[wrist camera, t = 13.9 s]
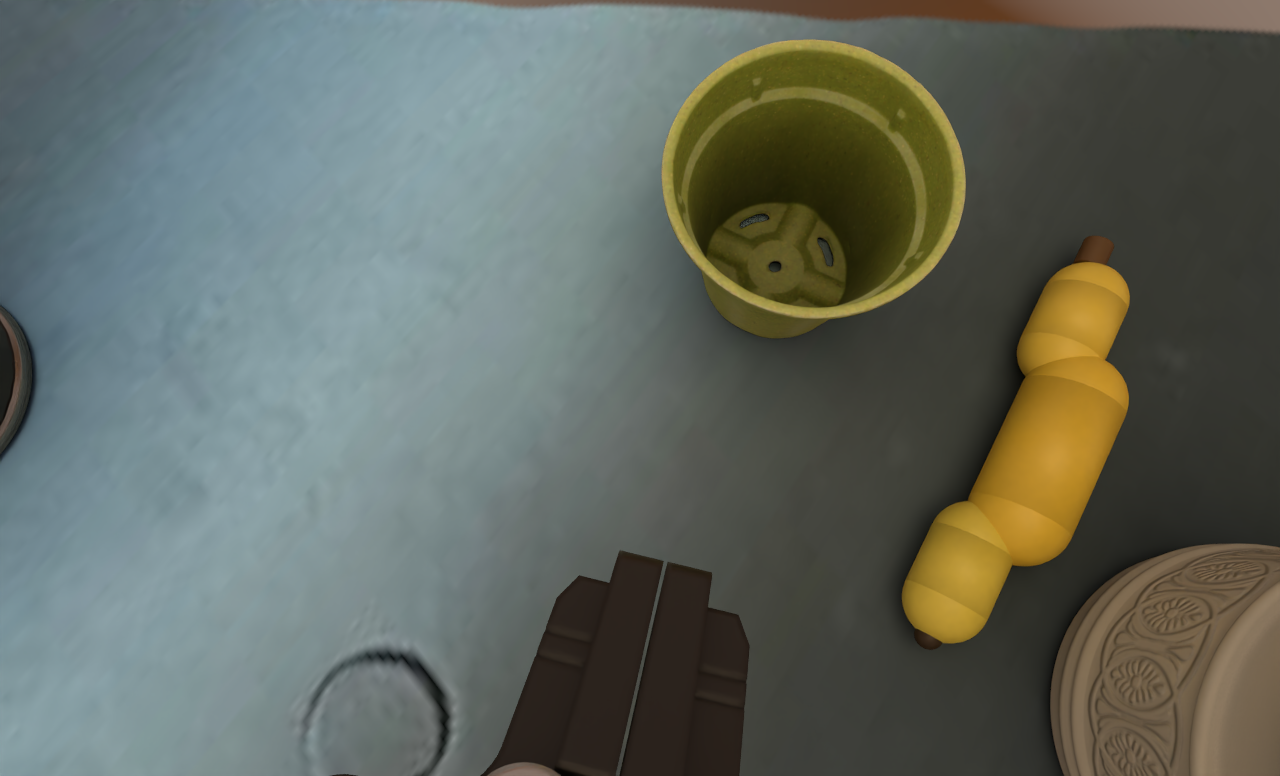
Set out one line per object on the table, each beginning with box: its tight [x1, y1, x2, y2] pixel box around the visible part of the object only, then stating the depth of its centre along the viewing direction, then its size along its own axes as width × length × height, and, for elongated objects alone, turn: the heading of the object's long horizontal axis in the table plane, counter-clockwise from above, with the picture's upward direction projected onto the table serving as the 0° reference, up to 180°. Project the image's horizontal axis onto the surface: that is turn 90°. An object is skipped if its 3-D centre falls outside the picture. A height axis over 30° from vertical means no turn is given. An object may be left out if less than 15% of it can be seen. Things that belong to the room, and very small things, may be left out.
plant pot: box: [662, 40, 966, 338], centre depth 27 cm, size 9×9×9 cm
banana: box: [902, 236, 1130, 650], centre depth 28 cm, size 17×4×4 cm, turn 151°
